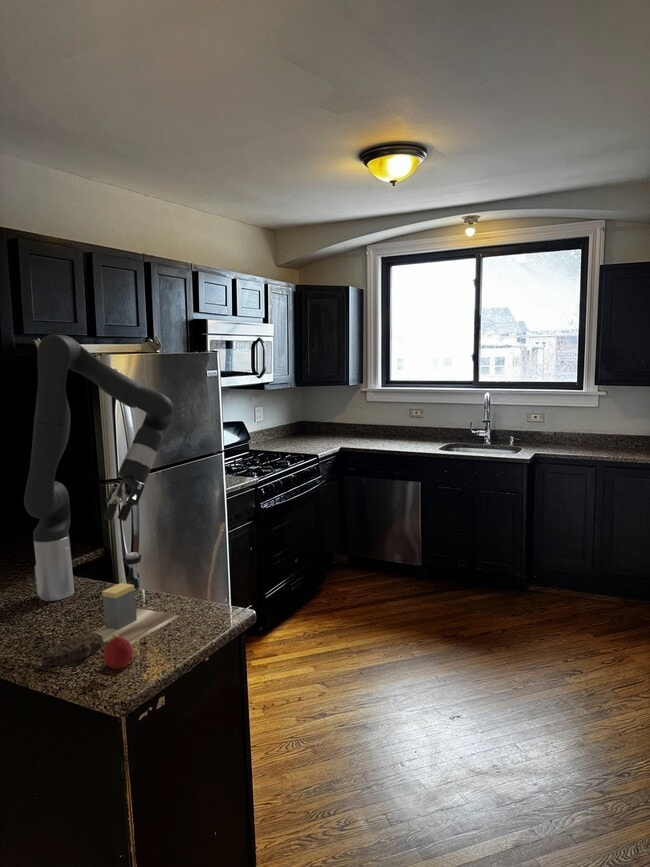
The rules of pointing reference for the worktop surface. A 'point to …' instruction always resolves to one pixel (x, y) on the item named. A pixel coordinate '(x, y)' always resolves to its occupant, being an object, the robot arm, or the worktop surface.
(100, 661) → the worktop surface
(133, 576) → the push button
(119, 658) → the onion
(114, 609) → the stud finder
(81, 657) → the concrete sample
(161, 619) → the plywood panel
